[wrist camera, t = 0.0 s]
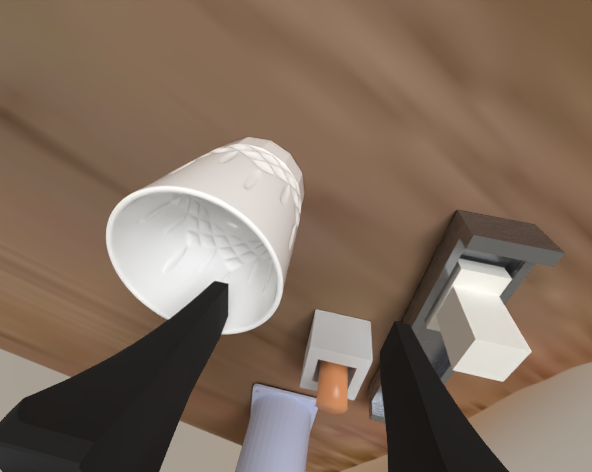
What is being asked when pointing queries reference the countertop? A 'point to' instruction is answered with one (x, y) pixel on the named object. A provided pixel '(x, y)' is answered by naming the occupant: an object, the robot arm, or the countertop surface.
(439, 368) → the rail
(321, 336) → the white hollow block
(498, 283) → the carriage
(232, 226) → the white cup
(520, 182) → the countertop surface
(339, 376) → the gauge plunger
